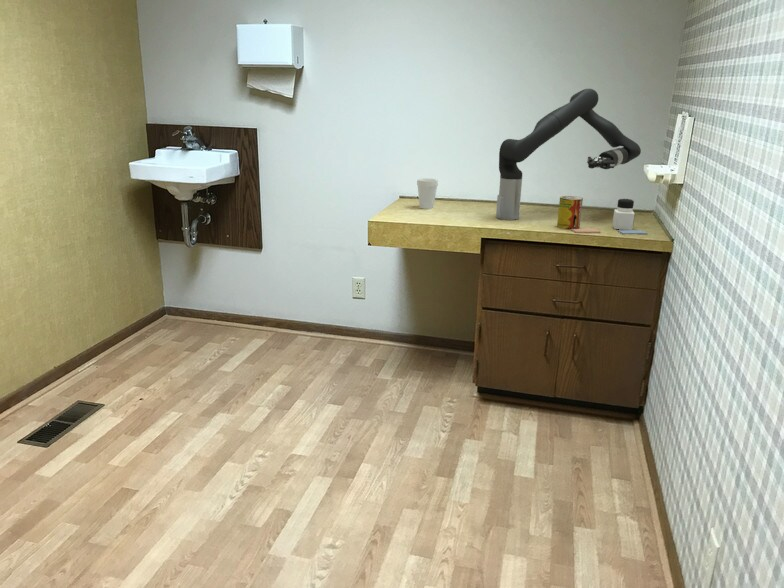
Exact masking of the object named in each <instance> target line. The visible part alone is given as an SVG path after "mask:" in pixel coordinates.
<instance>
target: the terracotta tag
mask: <svg viewBox="0 0 784 588" xmlns="http://www.w3.org/2000/svg"><path fill="white" fill-rule="evenodd" d="M570 230H571V232H573V233H574V234H600V233H601V230H598V229H596V228H579V229H570Z"/></svg>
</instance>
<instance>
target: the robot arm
mask: <svg viewBox="0 0 784 588" xmlns="http://www.w3.org/2000/svg"><path fill="white" fill-rule="evenodd" d="M598 102H599V94H598V92H597V91H596V90H595V89H593V88H584V89H581V90H580V91H577V92H576V93H574V94H573V95H572V96H571V97H570V99H569V102H568V103H566V104H563V105H562V106H559V107H558V108H556V109H554V110H552V111H550V112H549V113H548V114H546V115H545V116H543V117H542V118H540V119H539V120H538V121H537V122H536V124H535V126H534V127H533V130H532V132H531V133H530V134H528V135H526V136H525V137H523V138H520V139H515V138H514V139H513V138H507V139H504V140H503V141H502V143H501V144H500V148H499V150H498V151H499V153H498V154H499V155H498V170H499V177H500V178H499V188H498V189H499V190H498V192H499V193H498V194H497V197H496V198H497V199H496V201H497V202H496V211H495V212H496V213H495V214H496V215H495V217H496V218H497V219H499V220H504V219H506V220H507V221H511V220H512V221H516V220H519V219H520V208H521V196H522V185H523V184H522V183H523V171H521V169H520V168H519V167H518V163H521V162H524V161H525V160H527V158H528V157H530V156H531V155H532V154H533V153H534V152H536V150H537V149H538V148H540V147H541V146H543V145H544V144H545V143H547V142H548V141H549V140H551V139H552V138H554V137H555V136H556V135H558V134H559V133H561V132H562V131H563V130H564V129H565V128H567V127H568V126H570V125H571V123H573V122H574V121H575V120H576V119H577V118H579V117H580V118H581V119H582V120H583V121H584V122H586V123H587V124H588V125H589V126H590V127H592V128H593V129H594V130H595V131H596V132H598V133H599V135H600V136H601V137H602V138H603V139H604V140H605V141H606V143H607V144H608V145H609V146H610V147H612V148H614V149H610V150H606V151H602V152H601V153H600V154H599V155H598V156H596V157H591V156H587V161H586V163H587V165H588V166H587V167H588V169H595V168H596V169H597V168H599V169H602V170H609V169H614V168H616V167H617V166H619V165H625V164H627V163H629V162H631V161H632V160H635V159H636V158H638V157H639V156H640V155H641V153H642V152H641V147H640V145H639V144H638V143H637V142H636V141H634V140H633V139H632V138H631V139H630V137H628V136H626V135H625V134H624V133H622V131H621V130H620V129H619V127H617V126H616V125H615V123H613V122H612V121H610V120H608V119H606V118H604V117H603V116H601V115H599V114H598V113H597V112H595V110H594V108H595V107H596V106H597V104H598ZM515 219H516V220H515ZM506 220H505V221H506Z"/></svg>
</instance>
